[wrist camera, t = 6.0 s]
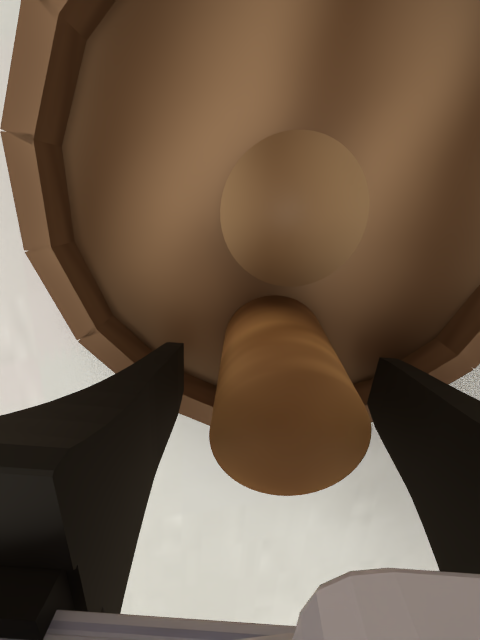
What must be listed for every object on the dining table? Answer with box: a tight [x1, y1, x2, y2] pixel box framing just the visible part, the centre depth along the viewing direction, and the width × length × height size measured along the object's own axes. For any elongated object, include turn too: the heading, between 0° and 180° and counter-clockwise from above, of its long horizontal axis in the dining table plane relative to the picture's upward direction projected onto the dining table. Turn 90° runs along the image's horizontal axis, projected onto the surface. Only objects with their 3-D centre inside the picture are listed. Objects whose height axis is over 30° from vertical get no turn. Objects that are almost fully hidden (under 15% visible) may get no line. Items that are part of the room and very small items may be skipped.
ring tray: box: [0, 0, 480, 426], centre depth 11 cm, size 19×19×2 cm
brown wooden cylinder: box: [209, 295, 371, 496], centre depth 11 cm, size 4×4×6 cm
